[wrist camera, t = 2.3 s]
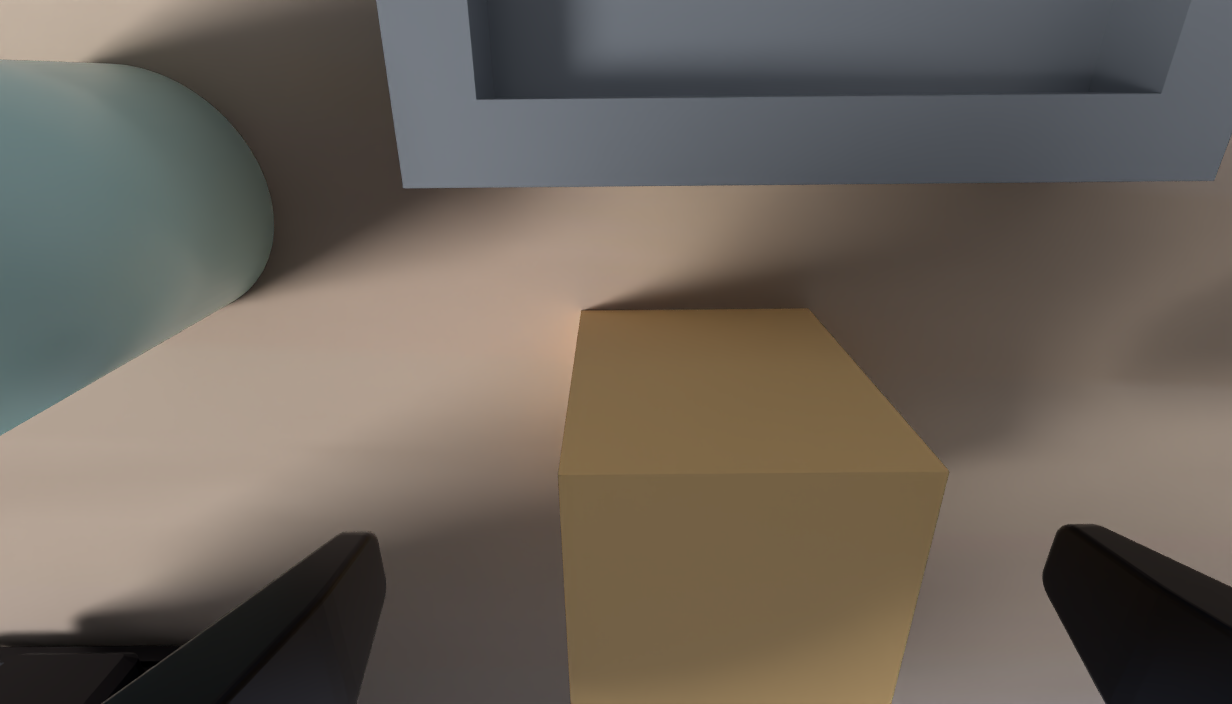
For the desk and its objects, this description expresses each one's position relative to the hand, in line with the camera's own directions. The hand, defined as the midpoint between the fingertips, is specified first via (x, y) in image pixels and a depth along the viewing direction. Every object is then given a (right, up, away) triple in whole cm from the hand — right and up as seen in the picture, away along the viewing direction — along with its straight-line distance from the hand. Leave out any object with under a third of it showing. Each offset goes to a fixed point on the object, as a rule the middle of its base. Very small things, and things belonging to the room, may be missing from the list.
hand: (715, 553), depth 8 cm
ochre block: (0, +2, +4) cm, 4 cm away
